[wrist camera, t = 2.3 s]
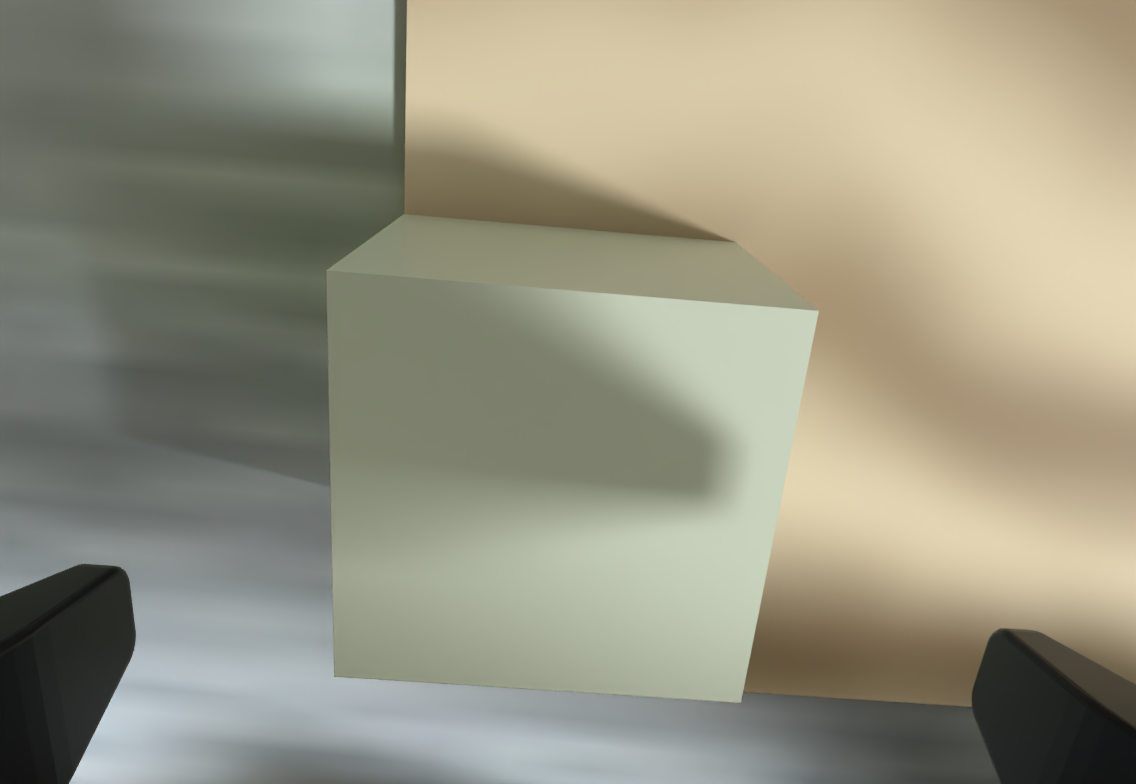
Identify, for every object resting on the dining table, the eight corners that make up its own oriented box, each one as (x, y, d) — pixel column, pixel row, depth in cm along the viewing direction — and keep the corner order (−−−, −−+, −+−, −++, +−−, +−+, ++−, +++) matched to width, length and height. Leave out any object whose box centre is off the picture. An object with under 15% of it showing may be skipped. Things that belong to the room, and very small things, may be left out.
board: (1176, 714, 18) (1184, 722, 18) (399, 663, 18) (397, 670, 18) (1516, -66, 13) (1534, -69, 13) (411, -180, 12) (408, -184, 12)
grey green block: (689, 531, 17) (741, 703, 12) (400, 510, 16) (334, 676, 12) (735, 242, 14) (819, 311, 10) (403, 213, 14) (326, 270, 10)
